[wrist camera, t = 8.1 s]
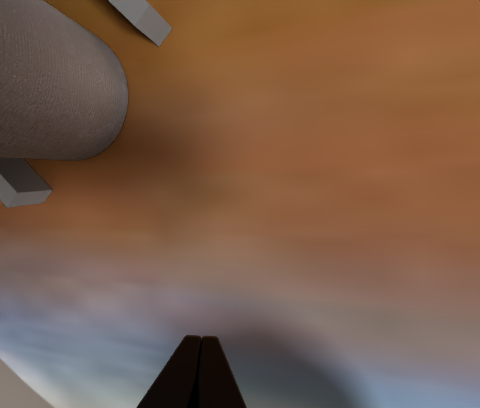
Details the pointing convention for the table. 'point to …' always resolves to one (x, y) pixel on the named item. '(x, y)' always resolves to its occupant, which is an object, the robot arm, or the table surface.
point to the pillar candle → (56, 85)
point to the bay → (17, 169)
